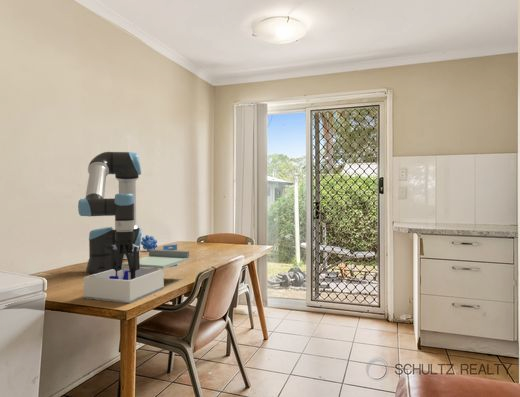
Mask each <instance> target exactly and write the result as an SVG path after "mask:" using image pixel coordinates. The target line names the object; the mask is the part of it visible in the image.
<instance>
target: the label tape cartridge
mask: <svg viewBox="0 0 520 397" xmlns="http://www.w3.org/2000/svg"><path fill="white" fill-rule="evenodd" d="M162 248H163V249H162V250H173V251H178V243H177V244H169V245H168V244H167V245H163V246H162ZM176 266H178V264H176V265H173V266H172V267H176Z"/></svg>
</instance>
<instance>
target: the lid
mask: <svg viewBox="0 0 520 397" xmlns="http://www.w3.org/2000/svg"><path fill="white" fill-rule="evenodd" d="M189 260H190V250H177V251H173V250H163V249H155V250H152V249H151V250H149V251H148V256H145V257H144V256H143V257H141V258H140V257H139V262H140V268H151V269H163V270H165V269H166V268H170V267H174V266H173V265H176V264H177V265H178V264H180V263H184V262H187V261H189ZM122 267H129V265H128V261H125V262H122Z"/></svg>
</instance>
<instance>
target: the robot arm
mask: <svg viewBox="0 0 520 397" xmlns="http://www.w3.org/2000/svg"><path fill="white" fill-rule="evenodd" d="M141 168H142V167H141V163H140V156H139V153H137V152H130V151H104V152H102V153H99V154H97V155H95V157H93V158H92V159H91V160H90V162H89V163H88V168H87V172H88V182H87V186H86V192H85V197H84V198H80V199H79V200H78V204H77V206H78V207H77V210H78V215H79V216H80V217H111V216H113V217H114V226H115V227H114V228H113V227H112V226H108V227H107V226H106V227H100V228H96V229H92V230H90V231H89V234H88V241H89V243H88V247H89V248H88V249H89V255H88V256H89V259H88V261H87V265H86V267H85V273H86V274H89V273H91V275H94V274H97V273H101V272H104V271H108V270H111V269H114V270H115V271H116V276H118V278H119V279H120V280H123V270H121V269H122V268H121V267H123V266H122V263H124V262H123V261H124V260H123V257H124V254H125V255H126V256H127V260H126V262H128V265H129V266H128V267H129V270H130V271H129V272H128V280H132V279H134V278H135V271H136V270H139V269H140V268H141V267H140V262H139V259H140V257H139V251H140V252H141V241H142V232H143V229H142V228H140V225H139V224H138V223H137V192H136V191H137V190H136V188H137V186H136V185H137V180H138V179H139V178H140V177H139V176H140V175H142V169H141ZM109 175H115V176H114V177H115V179H116V180H117V182H118V193H116V194H115V195H114V198H105V192H106V182H107V176H109Z"/></svg>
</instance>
